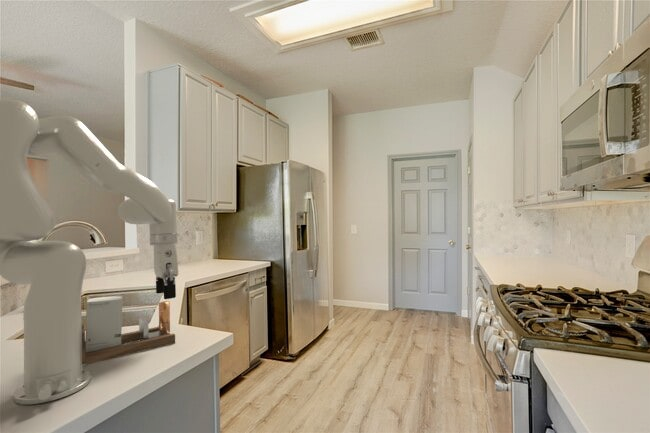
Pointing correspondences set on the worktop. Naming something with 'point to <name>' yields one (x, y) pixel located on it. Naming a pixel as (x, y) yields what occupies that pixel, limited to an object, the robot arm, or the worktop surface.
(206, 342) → the worktop surface
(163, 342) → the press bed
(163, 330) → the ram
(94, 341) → the skincare box
